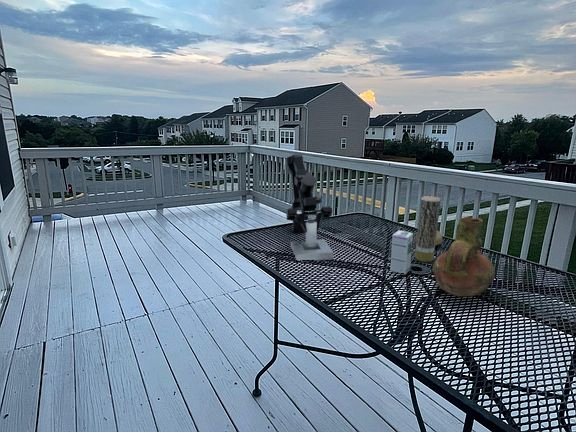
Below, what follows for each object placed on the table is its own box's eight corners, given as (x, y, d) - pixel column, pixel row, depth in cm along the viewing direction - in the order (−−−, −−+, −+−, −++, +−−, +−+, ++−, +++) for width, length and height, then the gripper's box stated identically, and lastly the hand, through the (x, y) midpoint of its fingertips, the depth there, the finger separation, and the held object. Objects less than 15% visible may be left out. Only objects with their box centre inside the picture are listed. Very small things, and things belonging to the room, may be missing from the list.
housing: (290, 247, 142) (290, 241, 141) (323, 245, 144) (324, 239, 143) (296, 261, 128) (296, 254, 127) (333, 259, 130) (333, 252, 129)
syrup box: (405, 275, 116) (409, 237, 112) (389, 270, 119) (392, 233, 115) (410, 269, 120) (414, 232, 116) (394, 265, 124) (397, 229, 120)
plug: (306, 242, 138) (306, 218, 135) (317, 243, 137) (317, 218, 134) (304, 246, 134) (304, 221, 131) (315, 247, 133) (315, 222, 129)
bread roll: (408, 247, 141) (410, 230, 139) (425, 239, 150) (426, 223, 148) (430, 254, 134) (432, 235, 132) (445, 244, 143) (448, 227, 141)
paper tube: (429, 255, 132) (437, 196, 125) (435, 262, 125) (443, 200, 118) (412, 255, 133) (418, 196, 125) (417, 262, 126) (424, 200, 119)
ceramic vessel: (496, 282, 110) (510, 212, 103) (482, 318, 90) (497, 233, 83) (443, 269, 120) (451, 204, 113) (420, 298, 101) (429, 221, 94)
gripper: (286, 189, 131) (291, 223, 124) (331, 187, 134) (338, 221, 126) (284, 203, 141) (288, 236, 133) (326, 201, 143) (332, 233, 136)
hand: (311, 231), depth 132 cm, fingers closed on plug, 4 cm apart
